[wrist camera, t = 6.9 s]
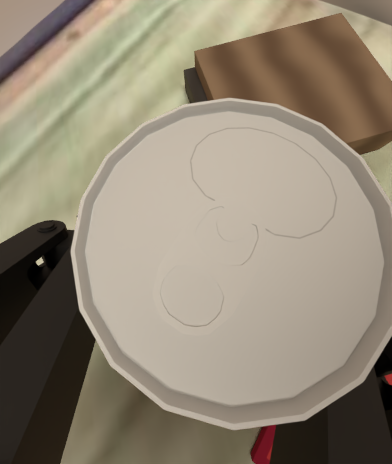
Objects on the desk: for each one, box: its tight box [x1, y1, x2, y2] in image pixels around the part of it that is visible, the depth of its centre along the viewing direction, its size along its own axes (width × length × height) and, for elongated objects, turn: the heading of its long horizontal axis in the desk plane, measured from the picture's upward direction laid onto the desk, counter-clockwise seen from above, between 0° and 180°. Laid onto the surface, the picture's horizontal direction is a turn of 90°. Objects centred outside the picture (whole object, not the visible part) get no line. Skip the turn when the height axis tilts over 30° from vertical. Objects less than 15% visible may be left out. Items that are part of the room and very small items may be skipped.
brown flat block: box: [184, 13, 392, 155], centre depth 20 cm, size 22×18×4 cm
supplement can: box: [71, 98, 392, 430], centre depth 11 cm, size 8×8×15 cm
